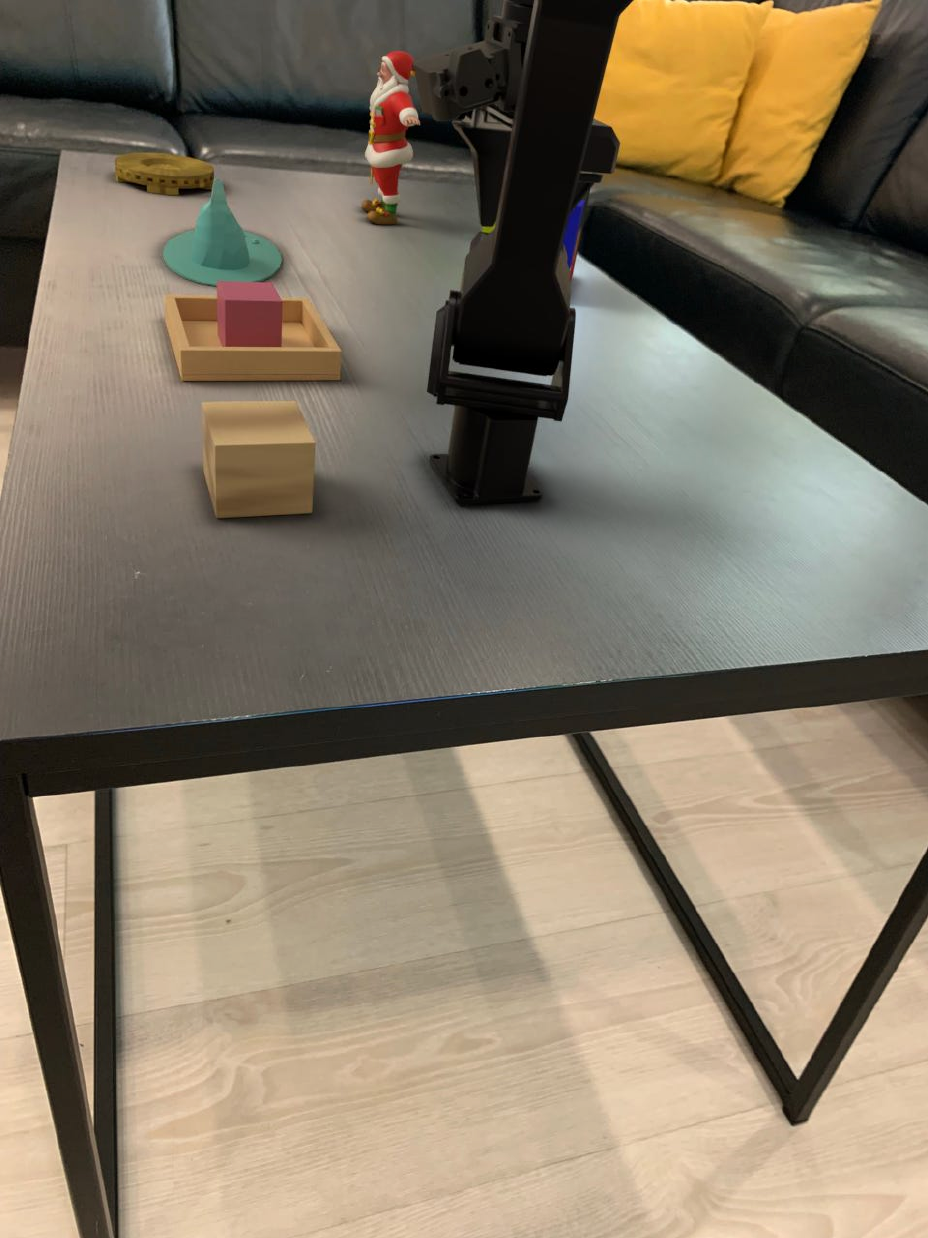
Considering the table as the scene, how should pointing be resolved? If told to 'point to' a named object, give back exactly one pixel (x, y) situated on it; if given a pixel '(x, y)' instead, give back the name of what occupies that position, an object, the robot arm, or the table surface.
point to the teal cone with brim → (221, 248)
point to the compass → (164, 172)
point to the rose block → (249, 314)
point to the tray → (206, 360)
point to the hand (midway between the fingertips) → (507, 243)
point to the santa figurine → (389, 134)
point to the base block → (257, 458)
